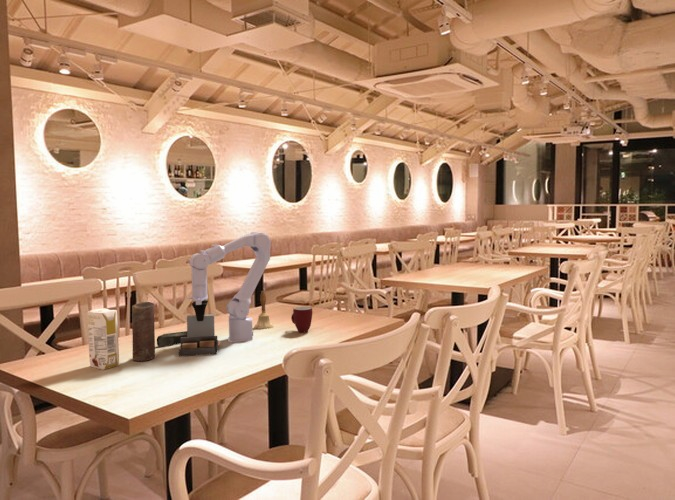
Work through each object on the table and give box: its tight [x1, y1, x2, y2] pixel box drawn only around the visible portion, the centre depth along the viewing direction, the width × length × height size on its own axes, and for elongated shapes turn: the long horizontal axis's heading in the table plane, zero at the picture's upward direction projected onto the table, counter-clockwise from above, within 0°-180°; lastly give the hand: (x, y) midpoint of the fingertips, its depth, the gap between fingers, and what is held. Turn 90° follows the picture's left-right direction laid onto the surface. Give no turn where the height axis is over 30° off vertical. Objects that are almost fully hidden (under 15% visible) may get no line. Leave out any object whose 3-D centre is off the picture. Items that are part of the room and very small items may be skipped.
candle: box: [131, 301, 156, 363], centre depth 184 cm, size 8×7×20 cm
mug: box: [291, 305, 313, 334], centre depth 226 cm, size 10×8×10 cm
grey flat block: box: [186, 314, 216, 337], centre depth 204 cm, size 10×2×8 cm, turn 100°
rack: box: [178, 335, 219, 357], centre depth 194 cm, size 13×11×6 cm
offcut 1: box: [182, 343, 197, 349], centre depth 191 cm, size 5×2×4 cm, turn 100°
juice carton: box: [87, 307, 120, 371], centre depth 178 cm, size 8×9×19 cm
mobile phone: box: [155, 330, 187, 349], centre depth 204 cm, size 5×3×15 cm
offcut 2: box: [200, 340, 214, 348], centre depth 192 cm, size 5×2×4 cm, turn 100°
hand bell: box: [253, 290, 274, 330], centre depth 235 cm, size 8×8×16 cm
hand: (200, 320), depth 204 cm, fingers closed on grey flat block, 2 cm apart
